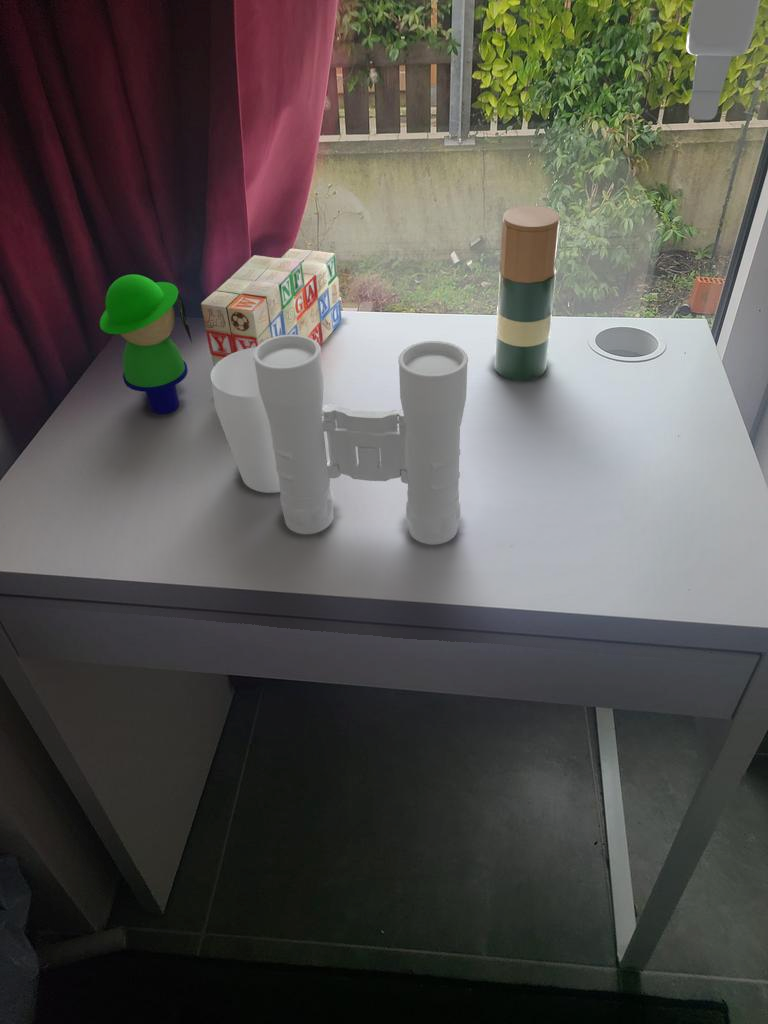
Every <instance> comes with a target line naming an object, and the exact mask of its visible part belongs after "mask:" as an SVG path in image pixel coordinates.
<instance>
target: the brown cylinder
mask: <svg viewBox="0 0 768 1024" xmlns="http://www.w3.org/2000/svg"><path fill="white" fill-rule="evenodd" d="M502 218H503V219H502V222H501V239H500V240H501V241H500V255H499V274H500V273H501V274H502V275H503V277H504V278H507V279H509V280H512V281H514V282H522V283H535V282H542V281H545V280H547V279H549V278H551V277H552V276H553V274H554V271H555V270H556V262H557V253H558V241H559V233H560V223H561V220H560V218H561V217H560V214H559V213H558V212H557V211H556V210H554V209H552V208H549V207H546V206H541V205H521V206H516V207H512V208H510V209H508V210H506V211H505V212H504V213H503V216H502Z"/></svg>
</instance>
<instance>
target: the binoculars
mask: <svg viewBox="0 0 768 1024" xmlns="http://www.w3.org/2000/svg"><path fill="white" fill-rule="evenodd" d="M321 351H322V350H321V345H319V344H318V343H317V342H316V341H315V340H313V339H311V338H309V337H306V336H302V335H281V336H276V337H273V338H270V339H267V340H265V341H264V342H262V343H260V344H259V345H258V346H257V347H256V348H255V350H254V352H253V359H254V362H255V368H256V374H257V380H258V386H259V392H260V395H261V398H262V401H263V404H264V407H265V410H266V413H267V416H268V419H269V422H270V427H271V434H272V440H273V443H272V445H273V449H274V452H275V458H276V470H277V472H278V477H279V487H280V492H279V493H280V496H279V500H280V508H281V511H282V514H283V517H284V523H285V525H286V527H287V528H288V529H289V530H291V531H292V532H294V533H296V534H299V535H313V534H317V533H320V532H323V531H324V530H326V529H327V528H328V527H330V525H331V524H332V523H333V520H334V505H335V503H334V494H333V492H332V488H331V481H330V479H338V478H340V477H341V475H344V476H347V477H350V478H351V479H353V480H358V481H366V482H367V481H369V482H388V481H390V480H394V479H398V478H400V481H401V483H404V484H407V493H406V495H407V497H406V498H407V501H406V503H405V512H406V513H405V517H406V519H407V528H408V529H407V530H408V532H409V533H408V534H410V536H411V537H412V539H414V540H415V541H417V542H420V543H422V544H425V545H441V544H444V543H447V542H450V541H451V540H452V539H454V537H455V536H456V535H457V533H458V530H459V522H460V518H461V503H460V489H459V487H460V486H459V483H460V475H461V473H460V456H461V447H460V446H461V425H462V421H463V416H464V410H465V406H466V400H467V391H468V390H467V387H468V385H467V384H468V363H469V355H468V353H467V352H466V351H465V350H464V349H462V348H461V346H459V345H456V344H454V343H451V342H447V341H442V340H426V341H420V342H417V343H414V344H411V345H409V346H408V347H405V348H404V349H403V350H402V351H401V352H400V354H399V356H398V360H397V362H398V366H399V367H398V370H399V371H398V374H399V375H398V376H399V377H398V378H399V399H400V403H401V409H399V410H398V409H393V410H387V411H367V410H355V409H349V408H345V407H342V406H336V405H334V404H331V403H330V404H325V405H324V390H325V385H324V383H325V382H324V375H323V373H324V372H323V363H322V354H321V353H322V352H321ZM325 435H326V440H325ZM326 445H327V449H326ZM327 453H328V458H327Z"/></svg>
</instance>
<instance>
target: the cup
mask: <svg viewBox="0 0 768 1024" xmlns="http://www.w3.org/2000/svg"><path fill="white" fill-rule="evenodd" d="M255 348H256V347H254V348H248V349H244V350H240V351H237V352H235V353H232V354H230V355H228V356H226V357H224V358H223V359H222V360H220V361H219V362H218V363H217V364H216V365H215V366H214V365H213V368H212V370H211V372H210V379H211V380H210V381H211V389H212V396H213V406H214V409H215V412H216V415H217V417H218V421H219V423H220V425H221V428H222V430H223V433H224V436H225V439H226V441H227V444H228V446H229V448H230V451H231V454H232V456H233V458H234V462H235V464H236V466H237V469H238V471H239V474H240V477H241V479H242V482H243V484H245V486H246V487H248V488H249V489H251V490H253V491H255V492H259V493H266V494H275V493H280V487H279V477H278V472H277V470H276V458H275V452H274V449H273V445H272V443H273V440H272V434H271V427H270V422H269V419H268V416H267V413H266V410H265V407H264V404H263V401H262V398H261V395H260V392H259V386H258V380H257V374H256V368H255V362H254V359H253V352H254V350H255Z"/></svg>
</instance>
